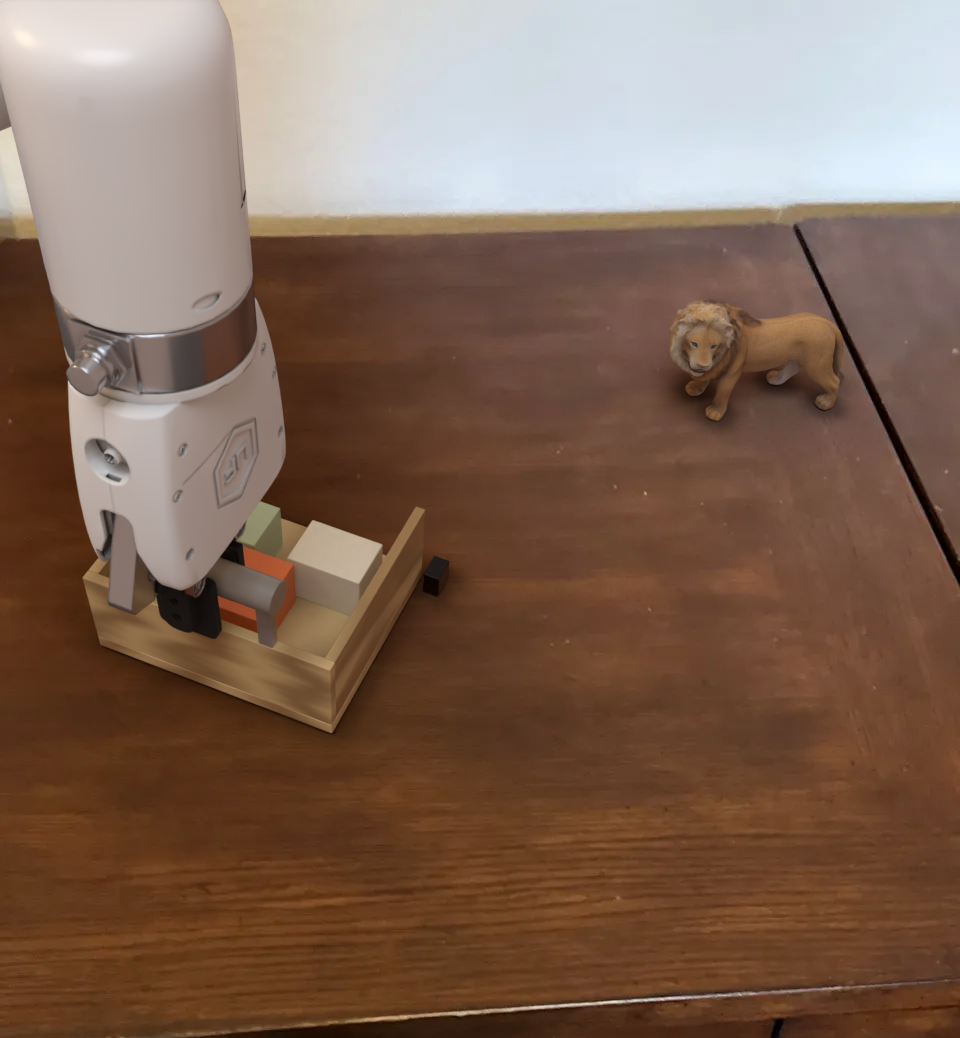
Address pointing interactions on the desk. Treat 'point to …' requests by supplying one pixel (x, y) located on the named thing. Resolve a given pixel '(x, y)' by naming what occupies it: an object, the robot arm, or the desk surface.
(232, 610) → the orange block
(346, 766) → the desk surface
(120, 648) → the wooden box
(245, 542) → the block
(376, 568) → the block
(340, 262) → the desk surface
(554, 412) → the desk surface
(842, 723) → the desk surface
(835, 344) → the lion figurine
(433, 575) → the stand
